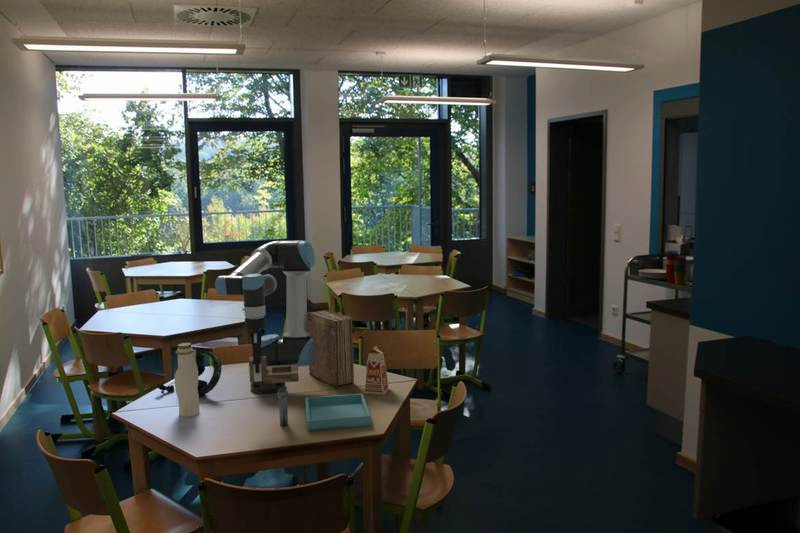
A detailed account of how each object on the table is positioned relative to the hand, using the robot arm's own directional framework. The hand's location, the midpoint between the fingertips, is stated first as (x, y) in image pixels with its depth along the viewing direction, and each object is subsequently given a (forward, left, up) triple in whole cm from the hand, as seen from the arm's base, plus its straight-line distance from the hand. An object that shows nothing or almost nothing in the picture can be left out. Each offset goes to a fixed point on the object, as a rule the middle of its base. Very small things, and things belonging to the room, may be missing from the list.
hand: (258, 378), depth 244 cm
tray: (-4, +28, -18) cm, 34 cm away
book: (-52, +29, -19) cm, 63 cm away
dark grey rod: (0, +8, -18) cm, 20 cm away
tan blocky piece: (0, +6, 0) cm, 6 cm away
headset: (-44, -31, -19) cm, 56 cm away
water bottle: (-21, -29, -19) cm, 40 cm away
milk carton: (-31, +47, -19) cm, 60 cm away
